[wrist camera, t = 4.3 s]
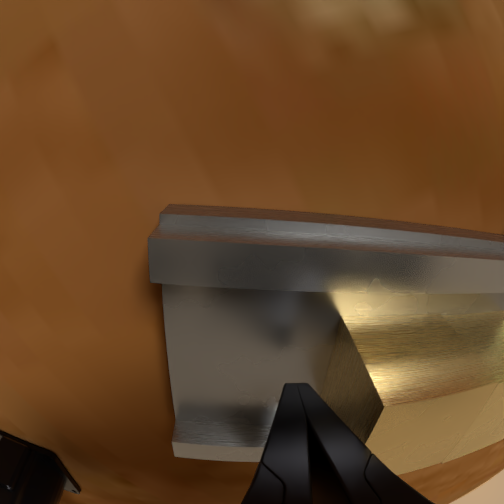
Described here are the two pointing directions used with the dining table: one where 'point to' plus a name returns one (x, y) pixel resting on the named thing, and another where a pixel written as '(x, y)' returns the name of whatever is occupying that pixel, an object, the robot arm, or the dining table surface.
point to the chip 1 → (406, 386)
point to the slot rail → (291, 304)
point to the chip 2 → (499, 363)
